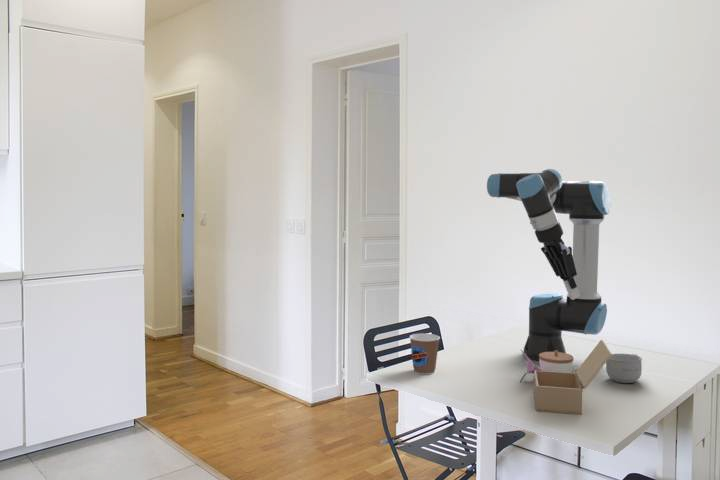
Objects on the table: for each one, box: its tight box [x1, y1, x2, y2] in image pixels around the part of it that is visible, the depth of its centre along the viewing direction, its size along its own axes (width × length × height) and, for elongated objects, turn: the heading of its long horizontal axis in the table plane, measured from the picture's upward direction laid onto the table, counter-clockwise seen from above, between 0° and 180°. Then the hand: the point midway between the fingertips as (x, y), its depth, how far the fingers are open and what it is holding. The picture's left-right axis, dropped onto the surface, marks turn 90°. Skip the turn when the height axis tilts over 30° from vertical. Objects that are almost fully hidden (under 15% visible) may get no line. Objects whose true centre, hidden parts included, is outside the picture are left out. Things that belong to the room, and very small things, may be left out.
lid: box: [574, 339, 613, 390], centre depth 174 cm, size 12×16×1 cm
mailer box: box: [533, 370, 584, 415], centre depth 176 cm, size 12×16×7 cm
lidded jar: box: [538, 350, 574, 373], centre depth 200 cm, size 11×11×9 cm
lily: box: [519, 349, 542, 383], centre depth 197 cm, size 12×12×10 cm
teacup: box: [605, 353, 643, 384], centre depth 199 cm, size 14×11×8 cm
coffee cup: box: [408, 333, 441, 375], centre depth 208 cm, size 10×10×12 cm
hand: (575, 297), depth 183 cm, fingers closed
